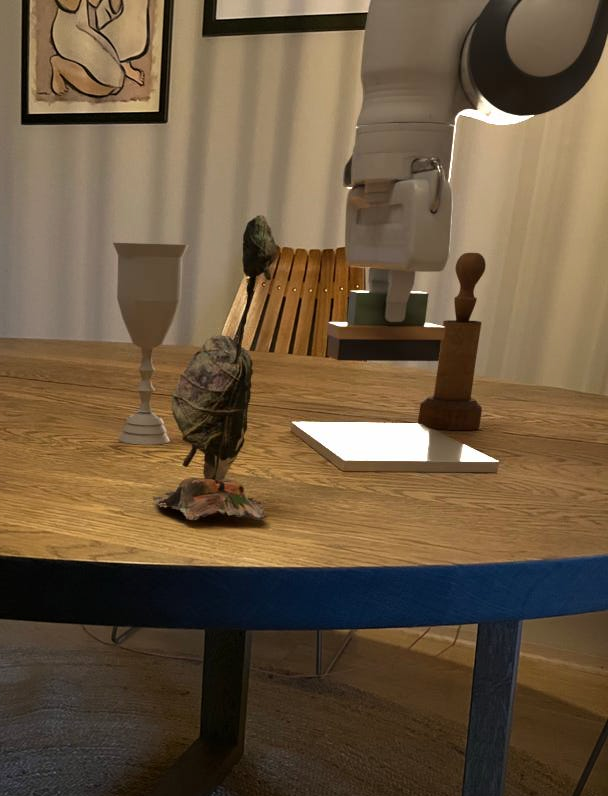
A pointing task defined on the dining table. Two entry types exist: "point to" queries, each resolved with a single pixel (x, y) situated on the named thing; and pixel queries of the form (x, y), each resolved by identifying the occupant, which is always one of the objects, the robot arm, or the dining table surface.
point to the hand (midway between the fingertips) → (386, 320)
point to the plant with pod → (220, 403)
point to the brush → (384, 331)
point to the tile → (391, 448)
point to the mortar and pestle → (457, 358)
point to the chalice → (148, 320)
